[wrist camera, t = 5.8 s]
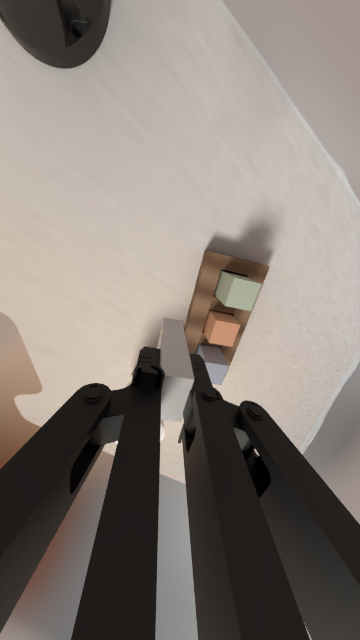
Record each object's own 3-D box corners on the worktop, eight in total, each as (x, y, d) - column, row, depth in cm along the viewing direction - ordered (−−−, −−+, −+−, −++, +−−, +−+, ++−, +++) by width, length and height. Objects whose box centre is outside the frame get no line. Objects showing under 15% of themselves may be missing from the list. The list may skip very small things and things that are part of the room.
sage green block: (221, 270, 37) (234, 277, 30) (244, 276, 37) (262, 284, 31) (214, 294, 38) (224, 305, 32) (236, 299, 39) (251, 311, 32)
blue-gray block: (199, 343, 43) (205, 362, 36) (219, 346, 44) (229, 365, 37) (193, 360, 45) (198, 381, 38) (212, 363, 45) (221, 384, 39)
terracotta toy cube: (207, 307, 41) (216, 320, 34) (228, 311, 42) (240, 325, 35) (201, 326, 43) (208, 342, 36) (221, 330, 44) (232, 346, 37)
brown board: (204, 250, 37) (207, 250, 34) (262, 264, 39) (269, 266, 36) (174, 362, 47) (175, 370, 44) (221, 369, 49) (225, 377, 46)
